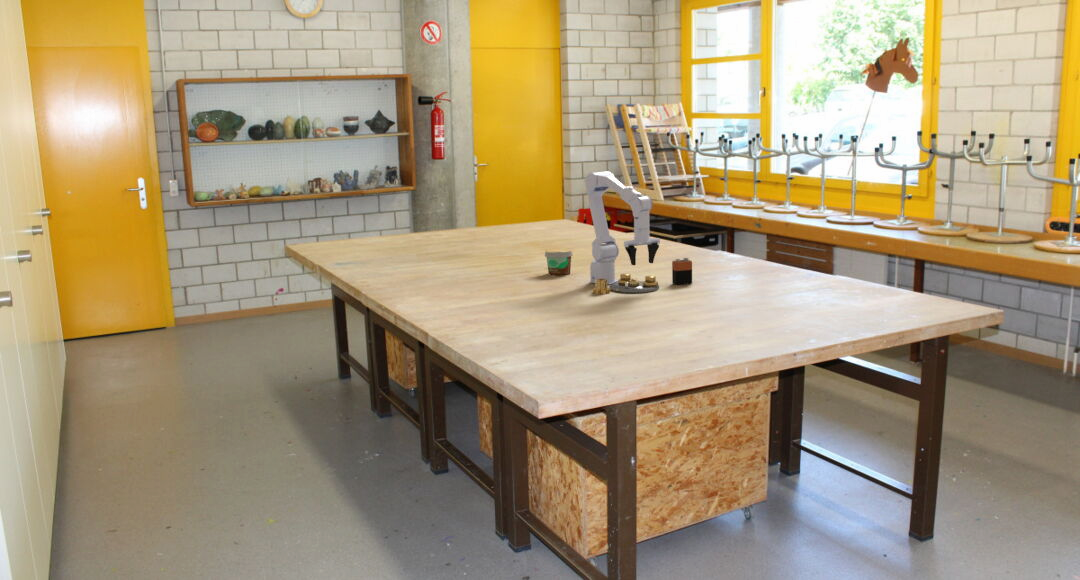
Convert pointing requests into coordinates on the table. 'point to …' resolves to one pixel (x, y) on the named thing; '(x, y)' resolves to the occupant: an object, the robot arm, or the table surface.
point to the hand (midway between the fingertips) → (642, 264)
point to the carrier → (634, 285)
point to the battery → (682, 271)
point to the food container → (559, 262)
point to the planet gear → (601, 286)
